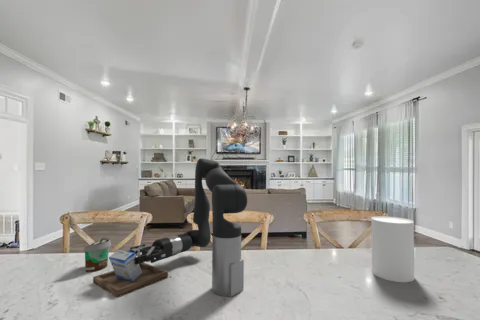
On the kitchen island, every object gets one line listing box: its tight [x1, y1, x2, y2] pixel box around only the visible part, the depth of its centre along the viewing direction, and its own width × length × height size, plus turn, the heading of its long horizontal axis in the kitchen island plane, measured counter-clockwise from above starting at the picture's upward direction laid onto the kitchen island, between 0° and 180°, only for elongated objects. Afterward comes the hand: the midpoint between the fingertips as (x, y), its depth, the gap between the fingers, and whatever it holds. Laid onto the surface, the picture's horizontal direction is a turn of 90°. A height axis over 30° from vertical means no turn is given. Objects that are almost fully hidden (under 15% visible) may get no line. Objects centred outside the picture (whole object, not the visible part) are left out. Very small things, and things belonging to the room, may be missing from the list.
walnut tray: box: [92, 262, 169, 298], centre depth 90 cm, size 16×18×2 cm
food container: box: [83, 237, 112, 273], centre depth 102 cm, size 12×6×10 cm, turn 179°
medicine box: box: [108, 249, 142, 281], centre depth 88 cm, size 8×4×9 cm, turn 63°
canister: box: [370, 215, 415, 283], centre depth 97 cm, size 14×14×20 cm
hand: (128, 258), depth 89 cm, fingers closed on medicine box, 8 cm apart
